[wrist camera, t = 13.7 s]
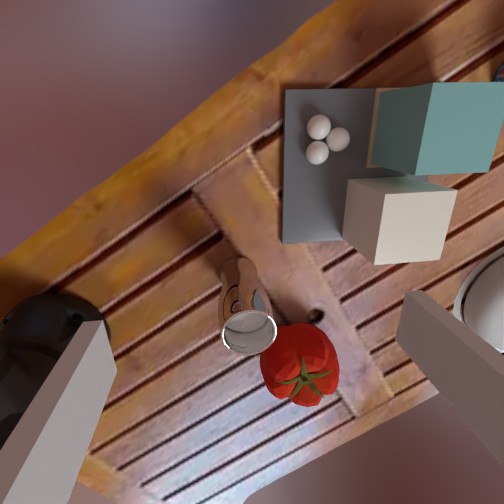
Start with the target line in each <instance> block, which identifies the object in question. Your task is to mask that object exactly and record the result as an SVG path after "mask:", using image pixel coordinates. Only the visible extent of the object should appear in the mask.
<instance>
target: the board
mask: <svg viewBox="0 0 504 504" xmlns="http://www.w3.org/2000/svg"><path fill="white" fill-rule="evenodd" d="M396 89H401V88H362V89H293V90H284V109H283V165H282V222H281V243H282V244H294V243H308V242H322V241H336V240H345V239H343V238H342V231H343V222H344V212H345V203H346V194H347V184H348V179H360V178H380V177H401V176H407V177H411V178H414V179H418V180H422V181H425V182H427V178H428V175H417V176H415V175H411V174H407V173H403V172H399V171H395V170H391V169H387V168H384V167H380V166H376V165H372V164H371V156H372V149H373V142H374V134H375V127H376V120H377V112H378V105H379V97H380V92H385V91H390V90H396ZM319 114H321V115H325V116H326V117H327V118H328V119H329V120H330V123H331V129H330V131H331V130H332V129H334V128H337V127H341V128H344V129H346V130H347V131H348V133H349V135H350V141H349V144H348V146H347V147H346V148H345V149H344V150H342V151H339V152H335V151H332V150H330V149H329V148H328V149H329V155H328V158H327V159H326V160H325V161H324V162H323V163H321V164H318V165H315V164H312V163H310V162H309V161H308V160H307V158H306V149H307V147H308V146H309V144H311V143H312V142H314V141H322V142H324V143H325V144H326V138H327V136H326V137H325V138H323V139H320V140H315V139H313V138H311V137H310V136H309V134H308V132H307V124H308V122H309V120H310V119H311V118H312V117H313V116H315V115H319ZM326 145H327V144H326Z"/></svg>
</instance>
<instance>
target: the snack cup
mask: <svg viewBox="0 0 504 504" xmlns="http://www.w3.org/2000/svg"><path fill="white" fill-rule="evenodd" d="M494 82H504V64H503V65H501V66H500V67H499V69H498V71H497V74H496V76H495V80H494Z"/></svg>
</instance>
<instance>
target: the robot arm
mask: <svg viewBox="0 0 504 504" xmlns="http://www.w3.org/2000/svg"><path fill="white" fill-rule="evenodd" d="M110 340H111V334H110V329H109V326H108V324H107V322H106V320H105V319H104V317H103V316H102V315H101V314H100V313H99V312H98V311H97V310H96V309H95V308H94V307H92V306H91V305H89V304H88V303H86V302H84V301H82V300H79V299H77V298H74V297H71V296H67V295H61V294H42V295H37V296H33V297H30V298H28V299H26V300H24V301H22V302H21V303H19V304H18V305H17V306H16V307H15V308H14V309H12V310H11V311H10V312H9V313H8V314H7V315H6V317H5V318H4V319H3V321H2V322H1V324H0V504H67V502H68V500H69V497H70V495H71V492H72V489H73V487H74V484H75V481H76V479H77V476H78V473H79V471H80V468H81V465H82V463H83V460H84V457H85V455H86V452H87V450H88V447H89V444H90V442H91V439H92V436H93V434H94V431H95V428H96V426H97V423H98V420H99V418H100V415H101V413H102V410H103V407H104V405H105V402H106V399H107V397H108V394H109V391H110V389H111V386H112V383H113V381H114V378H115V375H116V373H117V369H116V365H115V362H114V358H113V354H112V351H111V347H110ZM395 340H396V341H397V343H398V344H399V345H400V346H401V347H402V349H403V350H404V351H405V352H406V353H407V354H408V356H409V357H410V358H411V359H412V360H413V362H414V363H415V364H416V365H417V366H418V367H419V369H420V370H421V371H422V372H423V373H424V374H425V376H426V377H427V378H428V379H429V380H430V382H431V383H432V384H433V385H434V386H435V387H436V389H437V390H438V391H439V392H440V393H441V394H442V396H443V397H444V398H445V399H446V400H447V402H448V403H449V404H450V405H451V406H452V407H453V409H454V410H455V411H456V412H457V413H458V414H459V416H460V417H461V418H462V419H463V420H464V421H465V423H466V424H467V425H468V426H469V427H470V429H471V430H472V431H473V432H474V433H475V434H476V436H477V437H478V438H479V439H480V440H481V442H482V443H483V444H484V445H485V446H486V447H487V449H488V450H489V451H490V452H491V453H492V455H494V457H495V458H496V459H497V460H498V462H499V463H500V464H501V465H502V466H503V467H504V353H500V352H499V351H497V350H496V349H495V348H494V347H492V346H491V345H490V344H489V343H487V342H486V341H485V340H483V339H482V338H481V337H480V336H478V335H477V334H476V333H475V332H473V331H472V330H471V329H470V328H468V327H467V326H466V325H465V324H463V323H462V322H461V321H460V320H458V319H457V318H456V317H455V316H453V315H452V314H451V313H449V312H448V311H447V310H446V309H444V308H443V307H442V306H441V305H439V304H438V303H437V302H436V301H434V300H433V299H432V298H431V297H429V296H428V295H427V294H426V293H424V292H423V291H422V290H419V291H408V292H406V293H405V298H404V302H403V307H402V311H401V316H400V320H399V325H398V329H397V334H396V338H395Z"/></svg>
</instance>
